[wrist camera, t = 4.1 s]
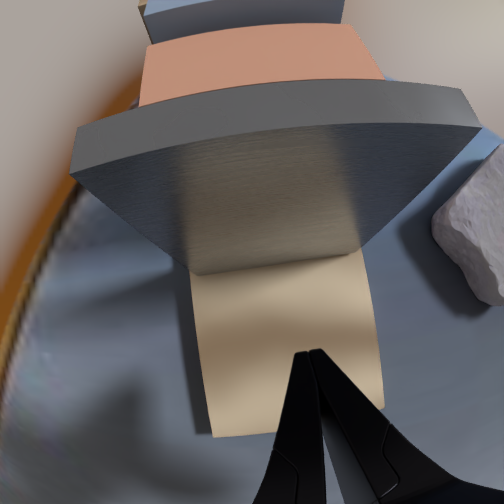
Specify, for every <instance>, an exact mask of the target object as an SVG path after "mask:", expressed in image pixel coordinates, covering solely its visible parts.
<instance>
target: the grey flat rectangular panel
mask: <svg viewBox="0 0 504 504" xmlns="http://www.w3.org/2000/svg"><path fill="white" fill-rule="evenodd" d="M482 128H483V127H482V126H481V124H480V122H479V120H478V118H477V116H476V114H475V113H474V111H473V109H472V107H471V106H470V104H469V102H468V100H467V99H466V97H465V96H464V94H463V92H462V91H461V89H457V88H451V87H444V86H437V85H429V84H421V83H411V82H399V81H384V80H354V79H337V80H306V81H290V82H278V83H267V84H258V85H250V86H242V87H235V88H228V89H222V90H216V91H210V92H205V93H199V94H194V95H189V96H185V97H180V98H175V99H171V100H167V101H163V102H159V103H155V104H151V105H147V106H143V107H140V108H136V109H132V110H129V111H126V112H122V113H119V114H116V115H113V116H110V117H107V118H104V119H100V120H98V121H95V122H92V123H89V124H86V125H83V126H81V127H78V128H77V132H76V137H75V142H74V147H73V153H72V159H71V165H70V171H69V174H70V175H71V176H72V177H73V178H74V179H75V180H76V181H78V182H79V183H80V184H81V185H82V186H84V187H85V188H86V189H87V190H88V191H89V192H91V193H92V194H93V195H94V196H95V197H97V198H98V199H99V200H100V201H102V202H103V203H104V204H105V205H106V206H108V207H109V208H110V209H111V210H112V211H114V212H115V213H116V214H117V215H119V216H120V217H121V218H122V219H124V220H125V221H126V222H127V223H129V224H130V225H131V226H132V227H134V228H135V229H136V230H137V231H139V232H140V233H141V234H143V235H144V236H145V237H146V238H148V239H149V240H150V241H151V242H153V243H154V244H155V245H157V246H158V247H159V248H161V249H162V250H163V251H164V252H166V253H167V254H168V255H170V256H171V257H172V258H174V259H175V260H176V261H178V262H179V263H180V264H182V265H183V266H184V267H186V268H187V269H188V270H190V271H191V272H192V273H194V274H195V275H196V276H203V275H210V274H217V273H224V272H231V271H238V270H245V269H251V268H258V267H265V266H272V265H278V264H285V263H291V262H298V261H304V260H311V259H317V258H324V257H330V256H336V255H343V254H349V253H355V252H357V251H358V250H359V249H360V248H361V247H362V246H363V245H364V244H366V243H367V242H368V241H369V240H370V239H371V238H372V237H373V236H375V235H376V234H377V233H378V232H379V231H380V230H381V229H382V228H383V227H384V226H385V225H387V224H388V223H389V222H390V221H391V220H392V219H393V218H394V217H395V216H396V215H397V214H398V213H399V212H400V211H402V210H403V209H404V208H405V207H406V206H407V205H408V204H409V203H410V202H411V201H412V200H413V199H414V198H415V197H416V196H417V195H418V194H419V193H420V192H421V191H422V190H423V189H424V188H425V187H426V186H427V185H428V184H429V183H430V182H431V181H432V180H433V179H434V178H435V177H436V176H437V175H438V174H439V173H440V172H441V171H442V170H443V169H444V168H445V167H446V166H447V165H448V164H449V163H450V162H451V161H452V160H453V159H454V158H455V157H456V156H457V155H458V154H459V153H460V152H461V151H462V150H463V148H464V147H465V146H466V145H467V144H468V143H469V142H470V141H471V140H472V139H473V138H474V137H475V136H476V134H477V133H478V132H479V131H480V130H481V129H482Z"/></svg>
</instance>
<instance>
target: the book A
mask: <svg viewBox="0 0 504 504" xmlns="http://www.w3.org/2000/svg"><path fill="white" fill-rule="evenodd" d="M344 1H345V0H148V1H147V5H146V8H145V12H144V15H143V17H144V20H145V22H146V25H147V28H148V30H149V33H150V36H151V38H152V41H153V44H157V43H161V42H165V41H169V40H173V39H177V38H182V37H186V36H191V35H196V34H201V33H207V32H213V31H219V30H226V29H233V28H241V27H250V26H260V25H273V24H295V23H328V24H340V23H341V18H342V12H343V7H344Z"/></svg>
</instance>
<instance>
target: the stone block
mask: <svg viewBox="0 0 504 504" xmlns="http://www.w3.org/2000/svg"><path fill="white" fill-rule="evenodd" d="M431 224H432V230H431V231H432V236H433V237H434V239H435V241H436V242H437V243H438V245H439V246H440V247H441V248H442V249H443V251H444V253H446V254H447V255H448V256H449V257H450V258H451V259H452V260H453V261H454V262H455V263H456V264H458V265H459V267H460V268H461V269H462V271H463V273H464V275H465V277H466V280H467V282H468V285H469V286H470V288H471V289H472V291H473V293H474V294H475V296H476V297H477V298H478V300H480V301H483V302H485V303H487V304H489V305H492V306H502V305H504V145H503V144H500V145H498V146H497V147H496V148H495V149H494V150H493V151H492V152H491V153H490V154H489V155H488V156H487V157H486V158H485V159H484V160H483V162H482V163H481V164H480V165H479V166H478V167H477V169H476V170H475V171H474V172H473V173H472V174H471V175H470V176H469V177H468V179H467V180H466V181H465V182H464V183H463V184H462V185H461V186H460V187H459V188H458V189H457V191H456V192H455V193H454V194H453V195H452V196H451V197H450V198H449V199H448V200H447V201H446V202H445V203H444V204H443V205H442V206H441V207H440V208H439V209H438V210H437V211H436V212H435V213H434V215H433V216H432V219H431Z"/></svg>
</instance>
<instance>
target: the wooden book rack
mask: <svg viewBox="0 0 504 504" xmlns="http://www.w3.org/2000/svg"><path fill="white" fill-rule="evenodd" d="M147 1H148V0H140V1H139V5H138V9H139V11H140V14H141V16H142V19H143V22H144V24H145V27H146V30H147V32H148V35H149V38H150V40H151V43H152V45H153V41H152V38H151V36H150V33H149V30H148V28H147V25H146V22H145V20H144V17H143V15H144V12H145V8H146V5H147ZM189 272H190V282H191V292H192V301H193V309H194V318H195V326H196V334H197V341H198V348H199V355H200V362H201V369H202V376H203V382H204V388H205V394H206V400H207V406H208V412H209V418H210V423H211V428H212V434H213V437H229V436H242V435H252V434H261V433H269V432H277V429H278V425H279V421H280V416H281V412H282V408H283V403H284V399H285V395H286V390H287V386H288V381H289V376H290V372H291V367H292V362H293V357H294V354H295V353H296V352H300V351H309V350H311V349H317V348H321V349H323V350H324V351H325V352H326V353H327V355H328V356H329V357H330V358H331V359H332V360H333V361H334V362H335V363H336V364H337V365H338V366H339V368H340V369H341V370H342V371H343V372H344V373H345V374H346V375H347V376H348V377H349V378H350V379H351V381H352V382H353V383H354V384H355V385H356V386H357V387H358V388H359V389H360V390H361V391H362V392H363V394H364V395H365V396H366V397H367V398H368V399H369V400H370V401H371V402H372V403H373V404H374V405H375V406H376V408H377V409H378V410H379V409H383V408H385V406H384V393H383V382H382V372H381V363H380V355H379V347H378V340H377V333H376V326H375V319H374V313H373V307H372V301H371V296H370V290H369V285H368V279H367V274H366V269H365V265H364V260H363V255H362V250H361V248H360V249H359V250H358V251H357V252H355V253H349V254H343V255H336V256H330V257H324V258H317V259H311V260H304V261H298V262H291V263H285V264H278V265H272V266H265V267H258V268H251V269H245V270H238V271H231V272H224V273H217V274H210V275H203V276H196V275H195V274H194V273H192V272H191V271H190V270H189Z"/></svg>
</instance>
